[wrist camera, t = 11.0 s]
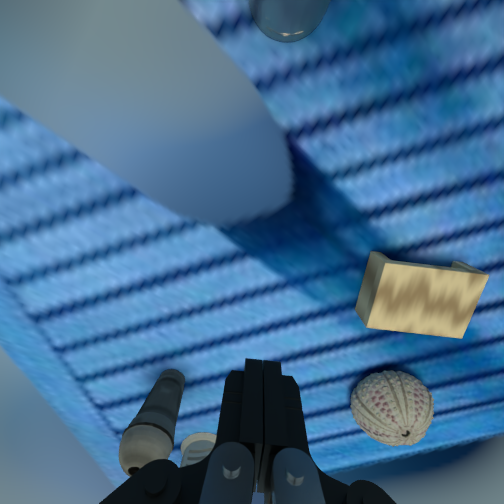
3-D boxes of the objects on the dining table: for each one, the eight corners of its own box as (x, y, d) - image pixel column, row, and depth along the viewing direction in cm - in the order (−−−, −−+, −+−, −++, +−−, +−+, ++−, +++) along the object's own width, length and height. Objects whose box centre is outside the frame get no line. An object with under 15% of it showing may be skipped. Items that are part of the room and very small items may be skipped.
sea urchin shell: (404, 426, 51) (429, 472, 44) (335, 413, 51) (349, 457, 43) (434, 370, 47) (468, 411, 40) (359, 356, 47) (379, 394, 39)
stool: (385, 262, 36) (489, 275, 36) (370, 250, 41) (462, 261, 41) (366, 327, 39) (461, 338, 39) (354, 309, 44) (440, 319, 44)
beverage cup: (174, 356, 47) (119, 486, 28) (200, 383, 49) (164, 523, 30) (143, 374, 49) (71, 510, 30) (170, 401, 51) (117, 545, 32)
